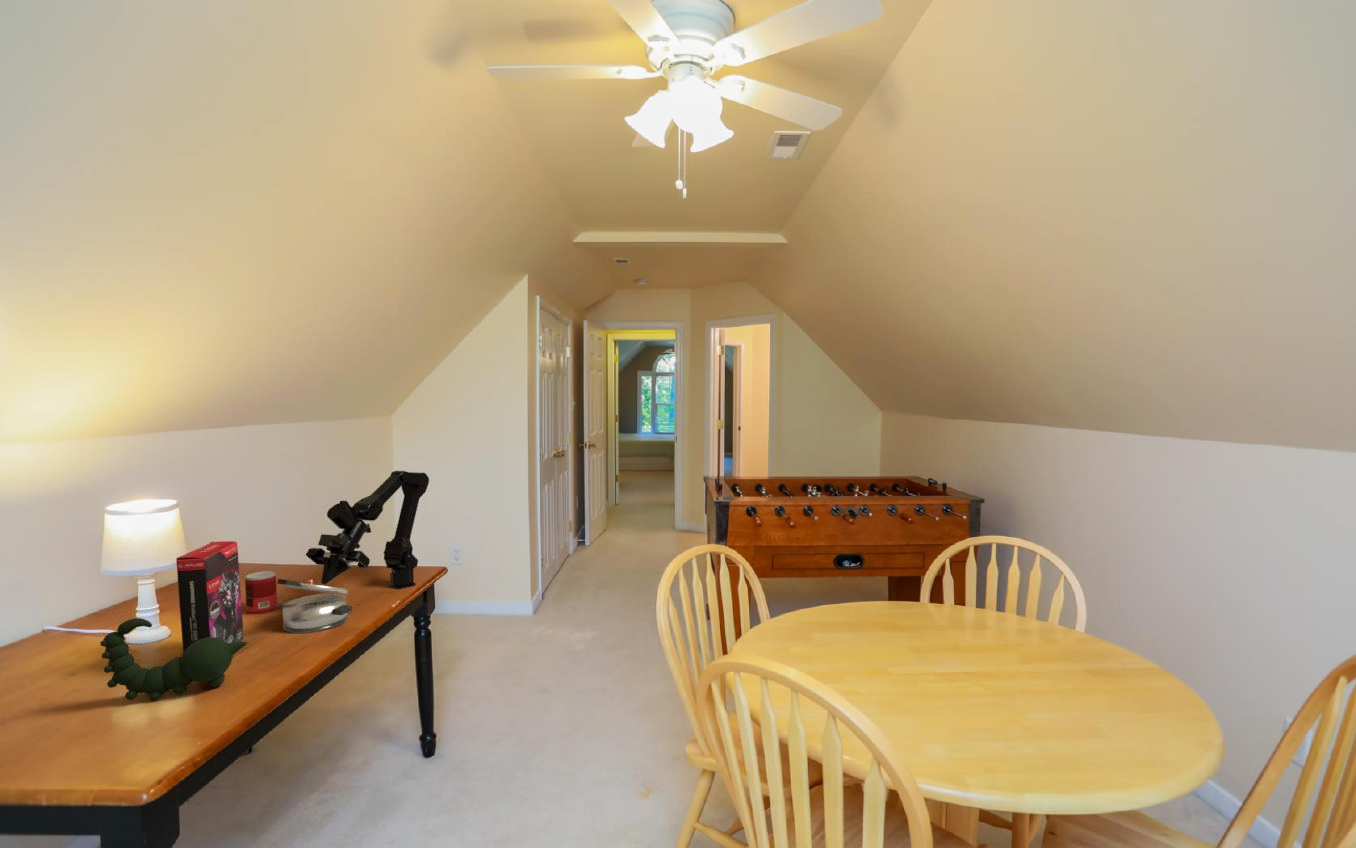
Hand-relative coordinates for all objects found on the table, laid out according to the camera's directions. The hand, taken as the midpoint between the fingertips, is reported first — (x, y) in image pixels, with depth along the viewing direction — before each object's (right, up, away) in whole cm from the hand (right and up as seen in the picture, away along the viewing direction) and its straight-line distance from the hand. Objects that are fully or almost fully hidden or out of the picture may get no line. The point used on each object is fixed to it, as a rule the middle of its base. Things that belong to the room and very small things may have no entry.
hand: (323, 583), depth 188 cm
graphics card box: (-14, -12, -25) cm, 31 cm away
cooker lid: (-1, -1, -4) cm, 5 cm away
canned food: (-24, -11, +9) cm, 27 cm away
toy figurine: (-7, -13, -45) cm, 47 cm away
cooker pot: (-1, -11, -2) cm, 11 cm away
